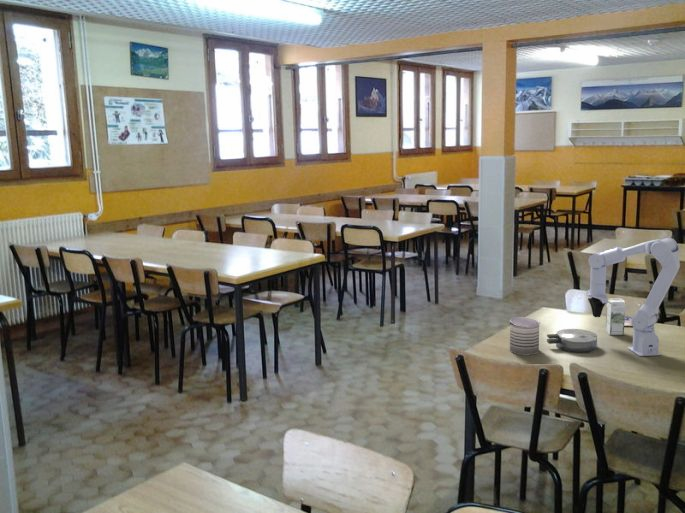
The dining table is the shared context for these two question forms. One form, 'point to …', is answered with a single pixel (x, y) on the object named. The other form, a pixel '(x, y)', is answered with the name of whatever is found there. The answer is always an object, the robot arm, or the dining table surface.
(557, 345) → the cooker pot
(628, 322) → the smartphone
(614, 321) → the syrup box
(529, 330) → the can
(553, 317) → the dining table surface
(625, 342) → the dining table surface
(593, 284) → the robot arm
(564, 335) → the cooker lid
